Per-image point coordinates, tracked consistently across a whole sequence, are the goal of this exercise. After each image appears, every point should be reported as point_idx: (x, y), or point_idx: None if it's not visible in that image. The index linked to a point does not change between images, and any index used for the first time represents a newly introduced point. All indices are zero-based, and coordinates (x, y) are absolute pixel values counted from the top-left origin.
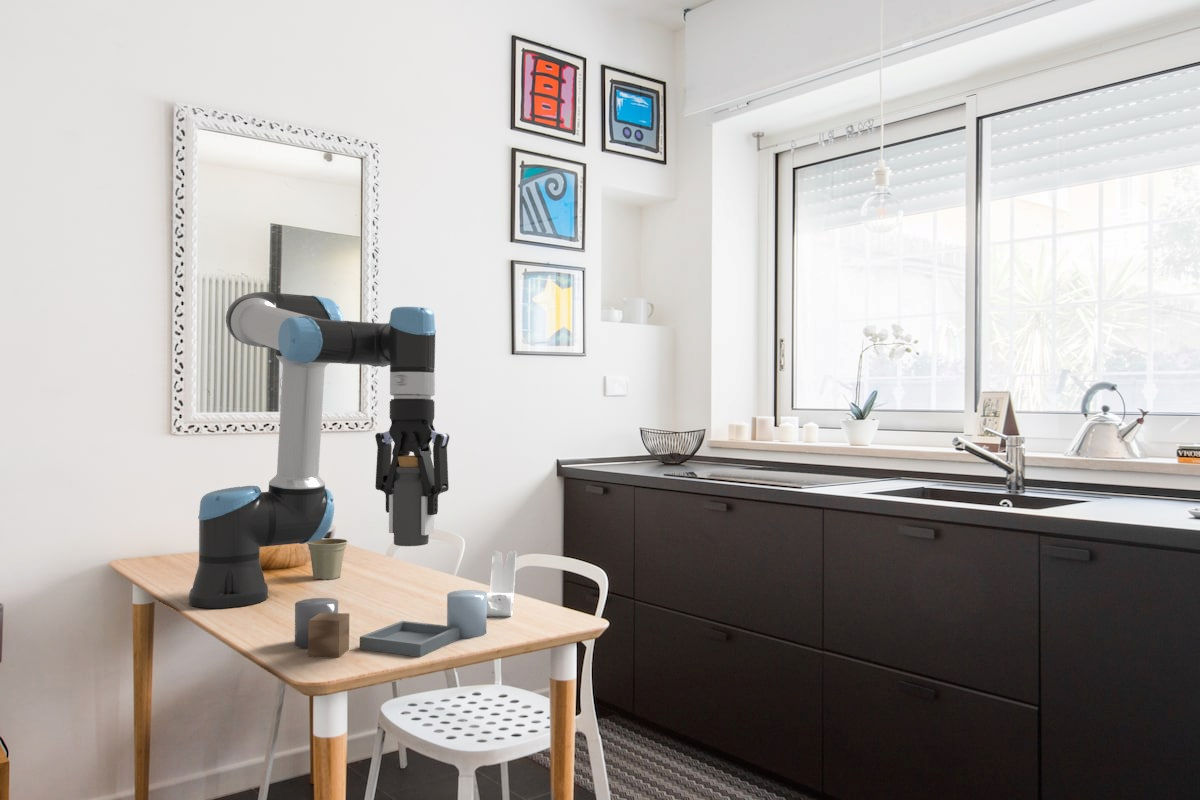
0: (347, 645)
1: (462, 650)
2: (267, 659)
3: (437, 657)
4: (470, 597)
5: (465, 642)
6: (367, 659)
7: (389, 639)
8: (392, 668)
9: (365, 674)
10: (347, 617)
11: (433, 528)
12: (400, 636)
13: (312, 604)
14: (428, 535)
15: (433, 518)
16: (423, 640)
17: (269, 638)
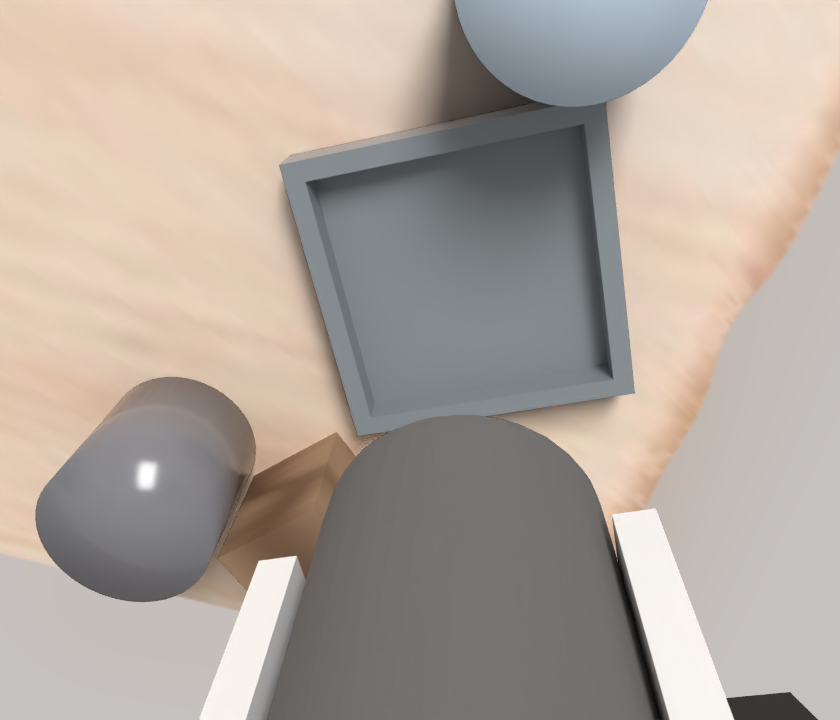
0: (344, 455)
1: (717, 222)
2: (239, 607)
3: (685, 342)
4: (666, 41)
5: (655, 119)
6: None
7: (481, 406)
8: (628, 497)
9: None
10: None
11: (669, 548)
12: (389, 258)
13: (147, 564)
14: (590, 504)
15: (699, 629)
16: (515, 249)
17: (11, 481)
